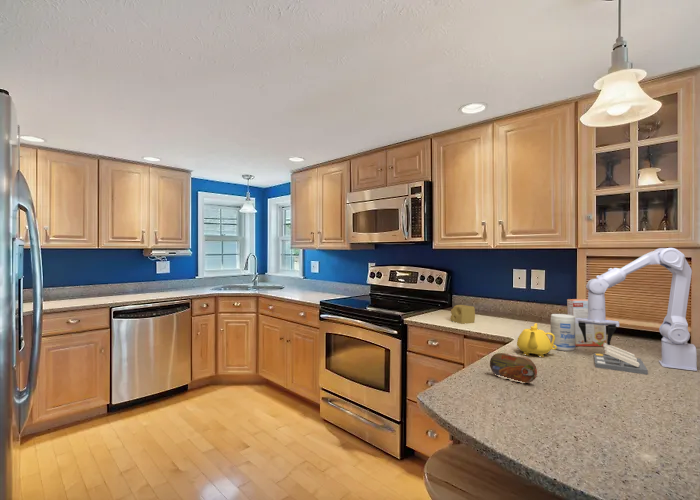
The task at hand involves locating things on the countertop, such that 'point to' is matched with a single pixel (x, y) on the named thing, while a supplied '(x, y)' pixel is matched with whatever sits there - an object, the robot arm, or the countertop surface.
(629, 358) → the rocker middle
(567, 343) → the supplement tub
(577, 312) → the cracker box
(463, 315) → the cheese
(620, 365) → the switch base
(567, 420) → the countertop surface
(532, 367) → the tin
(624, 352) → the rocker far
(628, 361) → the rocker near
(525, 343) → the teapot
